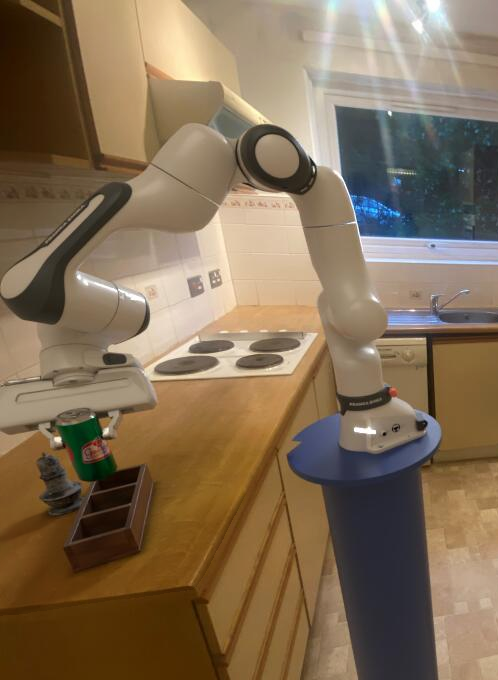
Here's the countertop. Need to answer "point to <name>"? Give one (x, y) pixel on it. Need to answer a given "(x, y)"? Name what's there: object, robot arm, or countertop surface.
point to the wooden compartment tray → (110, 518)
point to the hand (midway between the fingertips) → (85, 443)
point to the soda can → (86, 444)
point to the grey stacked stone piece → (58, 486)
